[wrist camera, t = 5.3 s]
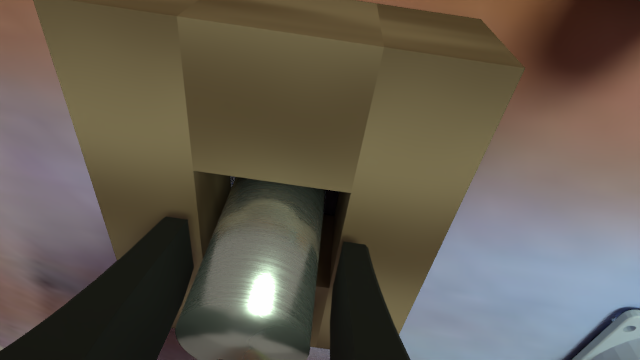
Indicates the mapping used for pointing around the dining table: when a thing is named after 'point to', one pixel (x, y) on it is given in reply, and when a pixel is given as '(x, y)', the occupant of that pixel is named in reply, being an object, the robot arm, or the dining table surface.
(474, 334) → the dining table surface
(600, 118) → the dining table surface
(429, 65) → the hole block
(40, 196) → the dining table surface
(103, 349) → the robot arm
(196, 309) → the long pin
